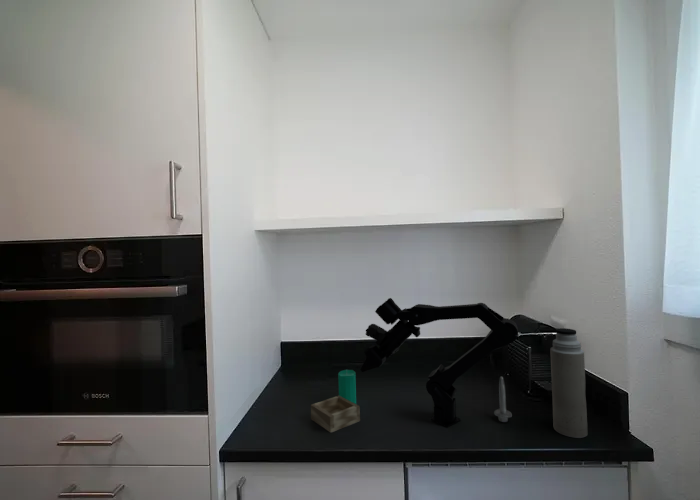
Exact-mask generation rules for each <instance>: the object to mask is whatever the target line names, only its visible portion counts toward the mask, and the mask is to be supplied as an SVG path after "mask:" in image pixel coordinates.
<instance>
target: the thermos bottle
mask: <svg viewBox="0 0 700 500" xmlns="http://www.w3.org/2000/svg"><path fill="white" fill-rule="evenodd" d="M555 333H556V334H555V339H553V340H552V347H550V350H549V351H550V371H551V373H550V374H551V376H550V377H551V392H552V393H551V395H552V419H553V420H552V423H553V429H554V430H555V432H557V433H559V434H560V435H563V436H566V437H570V438H575V439H581V438H582V439H583V438H585V437H587V436H588V417H587V416H588V413H587V412H588V411H587V398H586V366H585V351H584V350H582V344H581V342H580V341H579V340H578V339H577V330H575V329H572V328H564V327H563V328H562V327H561V328H555Z"/></svg>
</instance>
